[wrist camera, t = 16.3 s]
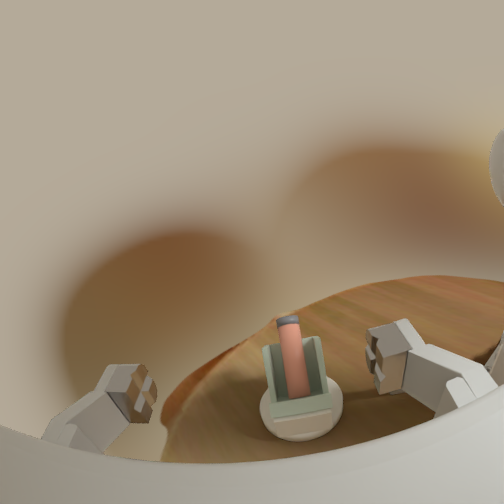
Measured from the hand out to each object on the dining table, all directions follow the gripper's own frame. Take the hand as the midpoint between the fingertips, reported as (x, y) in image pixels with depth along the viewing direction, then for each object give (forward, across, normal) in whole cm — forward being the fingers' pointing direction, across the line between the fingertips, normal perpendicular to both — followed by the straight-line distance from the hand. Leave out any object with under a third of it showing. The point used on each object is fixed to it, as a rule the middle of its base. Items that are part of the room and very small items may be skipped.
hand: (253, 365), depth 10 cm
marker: (+20, -1, +26) cm, 33 cm away
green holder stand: (+21, -1, +32) cm, 38 cm away
